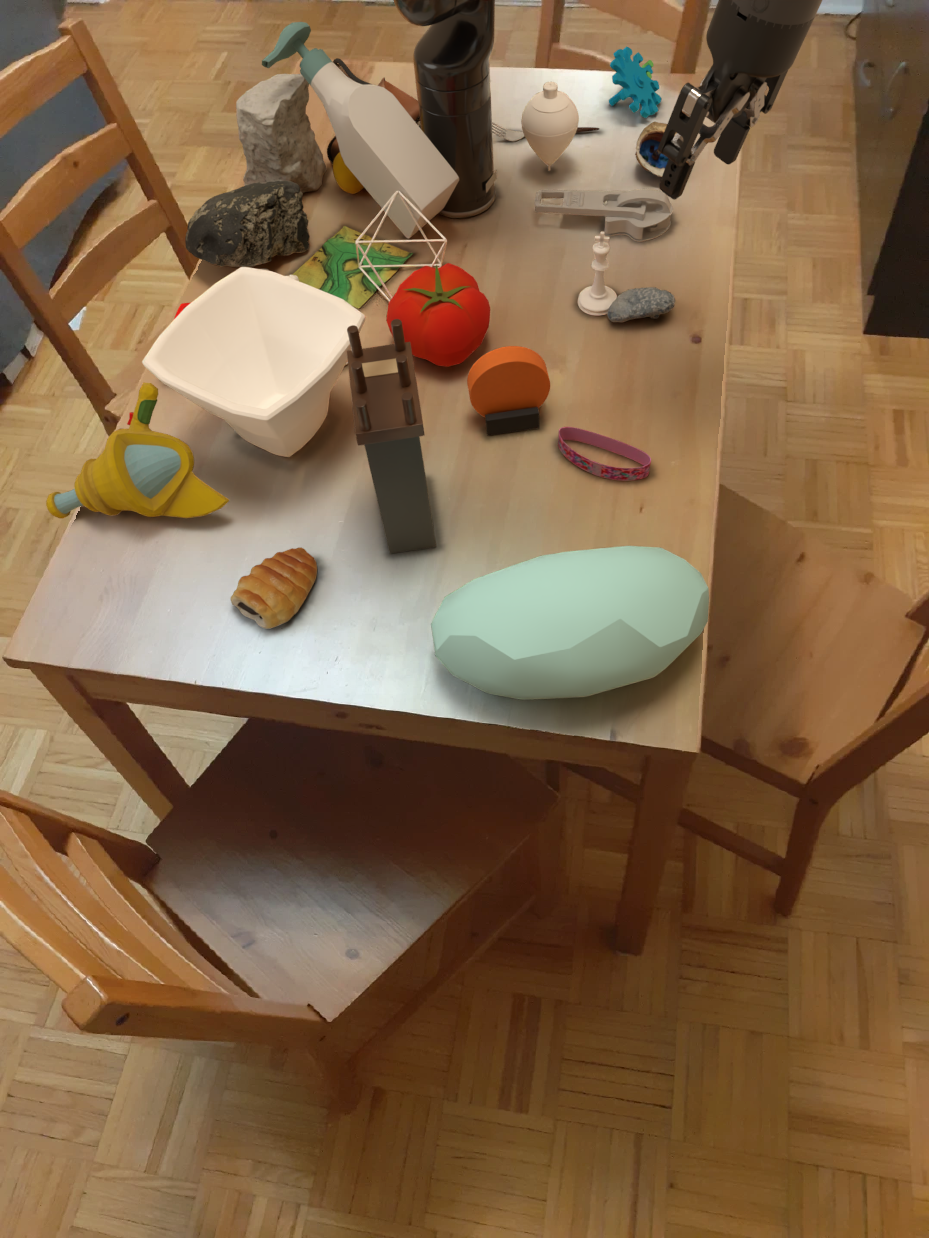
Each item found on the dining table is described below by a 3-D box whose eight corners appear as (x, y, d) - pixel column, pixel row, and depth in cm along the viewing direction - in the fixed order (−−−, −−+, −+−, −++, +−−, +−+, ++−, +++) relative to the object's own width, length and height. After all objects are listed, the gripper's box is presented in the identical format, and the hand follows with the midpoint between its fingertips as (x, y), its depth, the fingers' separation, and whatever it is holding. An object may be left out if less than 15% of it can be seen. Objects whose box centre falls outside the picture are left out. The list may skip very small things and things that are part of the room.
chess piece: (614, 317, 114) (621, 248, 106) (574, 314, 115) (578, 245, 107) (619, 290, 117) (626, 221, 108) (580, 287, 118) (584, 217, 109)
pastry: (287, 546, 100) (279, 525, 96) (335, 574, 97) (329, 554, 94) (228, 609, 96) (218, 589, 93) (277, 640, 94) (268, 621, 90)
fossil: (603, 312, 116) (613, 339, 113) (601, 290, 113) (611, 318, 110) (669, 295, 115) (680, 322, 113) (669, 272, 112) (680, 299, 110)
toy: (-10, 440, 96) (53, 573, 100) (149, 371, 91) (211, 513, 94) (47, 431, 106) (103, 553, 109) (194, 368, 101) (249, 498, 104)
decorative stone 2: (675, 766, 88) (766, 633, 78) (423, 725, 82) (487, 573, 72) (640, 664, 99) (716, 536, 89) (416, 621, 93) (470, 477, 83)
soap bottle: (398, 248, 125) (254, 76, 119) (442, 209, 126) (302, 37, 120) (411, 220, 114) (254, 30, 108) (460, 178, 115) (306, -13, 109)
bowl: (302, 518, 101) (271, 430, 89) (169, 452, 107) (124, 362, 95) (397, 406, 109) (381, 312, 97) (269, 351, 115) (238, 255, 103)
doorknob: (391, 201, 127) (400, 177, 132) (369, 143, 122) (379, 119, 127) (342, 216, 129) (352, 191, 135) (318, 159, 124) (329, 136, 129)
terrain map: (344, 224, 126) (344, 227, 127) (288, 276, 122) (288, 279, 122) (413, 252, 122) (413, 255, 123) (358, 307, 118) (359, 310, 118)
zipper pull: (538, 200, 127) (538, 171, 123) (671, 205, 125) (676, 175, 121) (532, 237, 123) (532, 209, 120) (669, 243, 121) (674, 213, 117)
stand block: (426, 481, 103) (407, 359, 88) (436, 547, 98) (418, 430, 83) (381, 488, 103) (355, 367, 87) (389, 554, 98) (362, 438, 83)
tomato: (388, 314, 117) (379, 257, 110) (486, 303, 117) (483, 245, 110) (393, 387, 110) (383, 331, 103) (497, 375, 110) (495, 318, 103)
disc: (546, 402, 108) (547, 340, 100) (549, 417, 107) (551, 355, 99) (469, 413, 108) (464, 352, 100) (472, 429, 106) (467, 368, 98)
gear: (647, 123, 132) (607, 58, 128) (616, 146, 136) (577, 84, 133) (676, 93, 138) (638, 31, 134) (645, 116, 142) (608, 56, 139)
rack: (412, 353, 88) (406, 316, 84) (424, 436, 82) (419, 399, 79) (349, 362, 88) (340, 325, 84) (357, 445, 82) (349, 410, 79)
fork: (599, 137, 134) (600, 124, 132) (489, 143, 135) (488, 130, 133) (598, 127, 135) (599, 113, 133) (489, 133, 136) (488, 119, 134)
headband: (548, 459, 103) (548, 445, 102) (563, 435, 105) (563, 421, 103) (639, 491, 100) (641, 477, 98) (653, 466, 102) (655, 452, 100)
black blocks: (531, 395, 109) (531, 379, 106) (539, 428, 106) (539, 413, 104) (480, 403, 108) (479, 387, 106) (487, 436, 106) (486, 420, 104)
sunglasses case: (380, 173, 131) (352, 130, 127) (347, 188, 136) (318, 147, 132) (432, 103, 139) (407, 60, 135) (398, 120, 144) (373, 79, 140)
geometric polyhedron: (419, 242, 124) (418, 180, 116) (465, 290, 119) (468, 230, 111) (338, 276, 120) (332, 215, 112) (382, 327, 116) (379, 267, 108)
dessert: (637, 115, 125) (624, 160, 130) (645, 136, 121) (631, 181, 125) (693, 126, 127) (678, 169, 131) (703, 147, 122) (687, 191, 127)
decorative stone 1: (284, 155, 136) (260, 52, 123) (336, 172, 133) (317, 69, 121) (242, 195, 132) (213, 94, 119) (295, 214, 129) (271, 112, 116)
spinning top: (586, 163, 131) (590, 77, 120) (559, 193, 128) (561, 107, 117) (539, 148, 133) (539, 63, 123) (511, 178, 130) (509, 92, 120)
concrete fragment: (239, 193, 130) (192, 285, 128) (206, 139, 120) (155, 238, 118) (329, 219, 126) (283, 314, 124) (303, 166, 116) (252, 268, 114)
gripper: (785, -56, 76) (710, 127, 90) (681, -6, 70) (618, 182, 84) (858, -10, 74) (770, 170, 88) (759, 46, 68) (681, 229, 82)
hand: (696, 176), depth 86 cm, fingers open, 8 cm apart
